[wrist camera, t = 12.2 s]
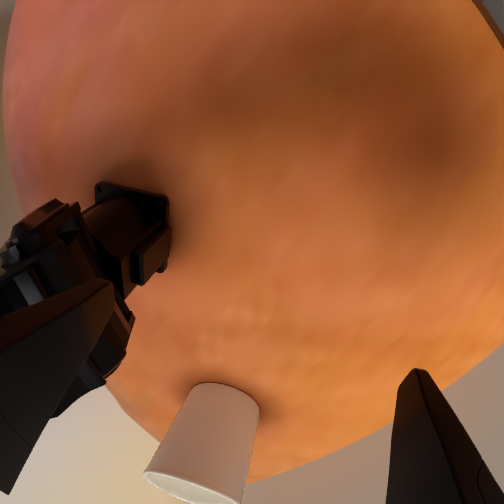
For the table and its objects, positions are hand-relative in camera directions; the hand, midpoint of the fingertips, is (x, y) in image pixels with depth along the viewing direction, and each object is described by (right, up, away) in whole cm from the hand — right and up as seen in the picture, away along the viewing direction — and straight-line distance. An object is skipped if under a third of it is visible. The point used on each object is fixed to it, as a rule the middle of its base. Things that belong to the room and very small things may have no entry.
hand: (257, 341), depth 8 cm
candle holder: (-3, -15, +25) cm, 29 cm away
